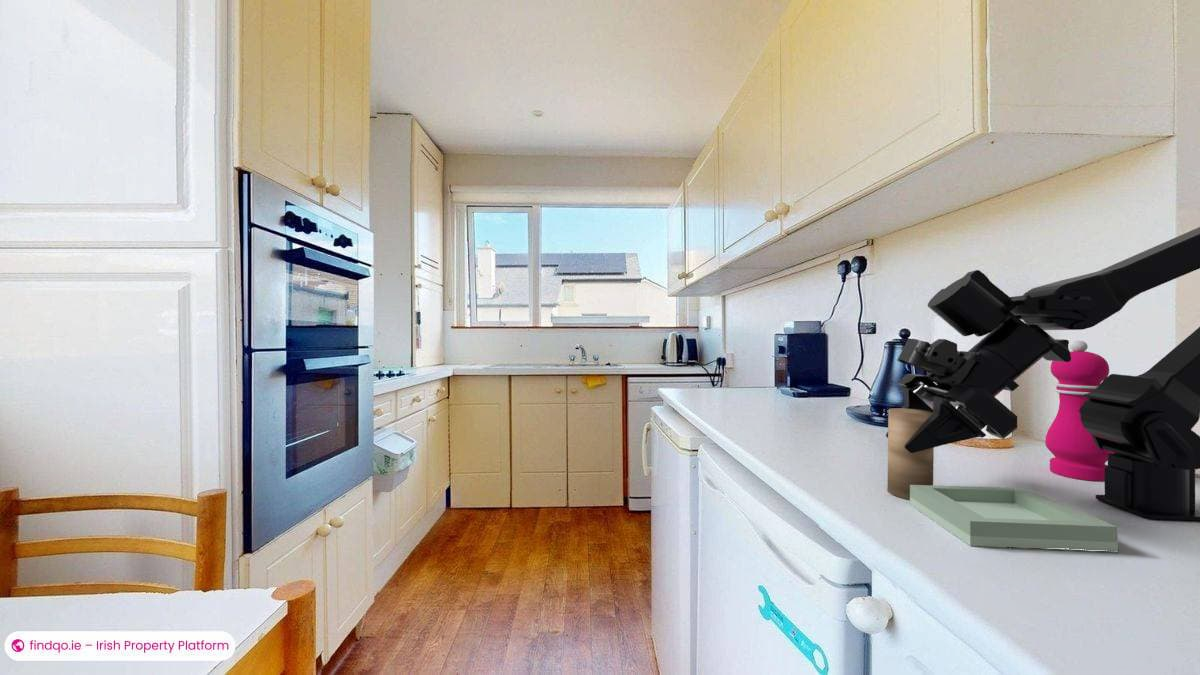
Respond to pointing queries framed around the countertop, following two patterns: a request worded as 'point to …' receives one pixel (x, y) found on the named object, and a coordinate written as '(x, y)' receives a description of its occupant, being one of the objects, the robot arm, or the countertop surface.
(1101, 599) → the countertop surface
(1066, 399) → the pepper mill
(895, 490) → the walnut leg
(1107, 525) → the socket board
